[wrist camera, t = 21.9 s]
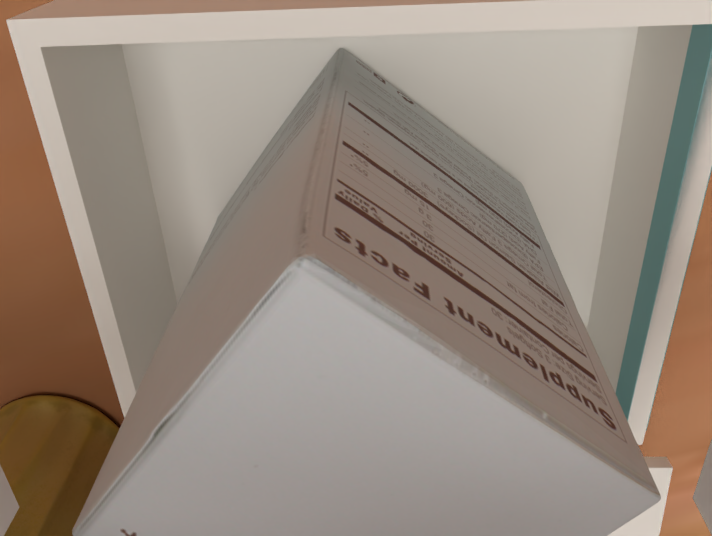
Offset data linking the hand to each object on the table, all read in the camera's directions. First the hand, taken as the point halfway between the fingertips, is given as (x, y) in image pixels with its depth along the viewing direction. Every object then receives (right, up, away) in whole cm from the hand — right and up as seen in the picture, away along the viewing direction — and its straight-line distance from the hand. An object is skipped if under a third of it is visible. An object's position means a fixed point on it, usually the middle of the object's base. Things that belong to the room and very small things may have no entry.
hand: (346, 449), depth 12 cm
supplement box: (+1, +6, +10) cm, 11 cm away
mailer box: (+1, +6, +10) cm, 12 cm away
